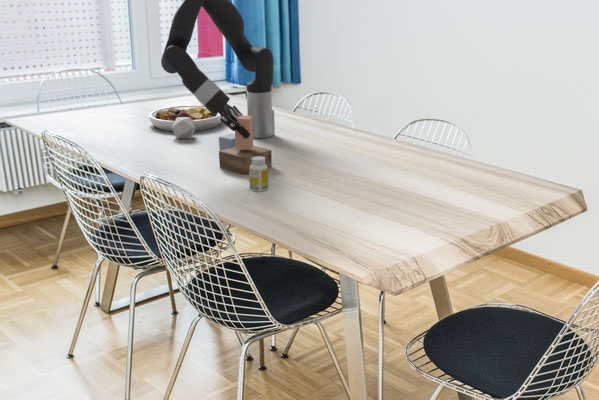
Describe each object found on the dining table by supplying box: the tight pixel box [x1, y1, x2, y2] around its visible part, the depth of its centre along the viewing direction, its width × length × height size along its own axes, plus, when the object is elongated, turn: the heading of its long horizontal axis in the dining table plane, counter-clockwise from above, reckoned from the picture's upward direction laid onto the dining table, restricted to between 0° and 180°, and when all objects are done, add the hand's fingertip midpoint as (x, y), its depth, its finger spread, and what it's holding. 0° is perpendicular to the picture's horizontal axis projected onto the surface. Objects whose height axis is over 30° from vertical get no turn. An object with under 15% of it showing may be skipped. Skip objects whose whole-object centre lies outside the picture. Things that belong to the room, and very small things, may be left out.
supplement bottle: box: [249, 156, 269, 193], centre depth 210 cm, size 5×5×10 cm
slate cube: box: [218, 132, 236, 151], centre depth 248 cm, size 6×6×6 cm
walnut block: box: [218, 145, 273, 176], centre depth 231 cm, size 12×12×6 cm
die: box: [172, 117, 196, 140], centre depth 268 cm, size 8×9×10 cm
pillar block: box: [234, 115, 254, 150], centre depth 228 cm, size 5×5×10 cm
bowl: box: [148, 104, 223, 132], centre depth 289 cm, size 30×30×8 cm
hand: (249, 134), depth 228 cm, fingers closed on pillar block, 4 cm apart
